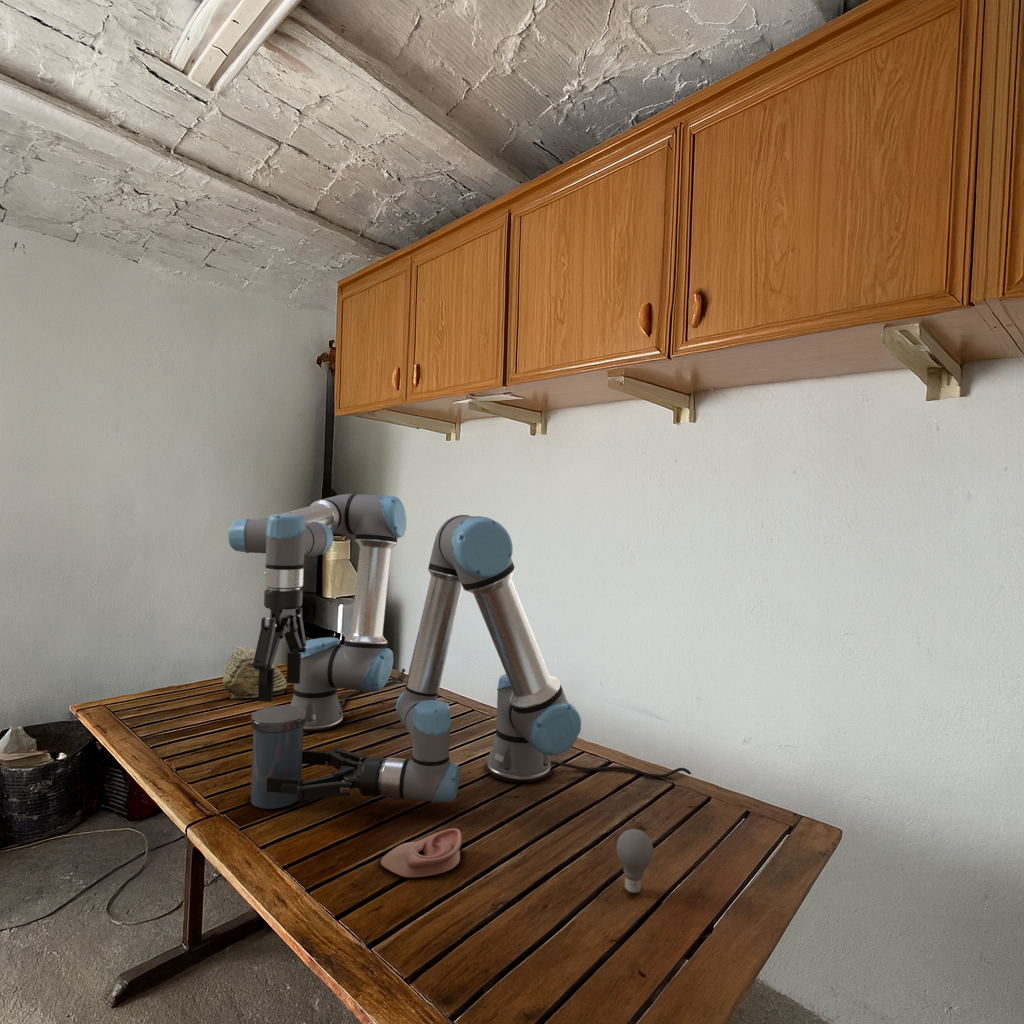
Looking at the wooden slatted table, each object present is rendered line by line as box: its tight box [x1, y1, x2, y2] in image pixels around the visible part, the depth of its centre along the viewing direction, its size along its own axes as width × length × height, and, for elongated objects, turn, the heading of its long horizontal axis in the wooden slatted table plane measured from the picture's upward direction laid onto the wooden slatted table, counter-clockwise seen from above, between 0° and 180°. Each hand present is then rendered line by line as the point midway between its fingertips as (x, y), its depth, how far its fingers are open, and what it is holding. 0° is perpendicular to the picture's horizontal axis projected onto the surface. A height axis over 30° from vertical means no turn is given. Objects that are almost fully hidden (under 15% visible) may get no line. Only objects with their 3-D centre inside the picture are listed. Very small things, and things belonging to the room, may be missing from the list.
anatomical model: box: [380, 827, 462, 879], centre depth 112 cm, size 13×4×12 cm
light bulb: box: [615, 828, 654, 894], centre depth 106 cm, size 6×6×10 cm
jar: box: [250, 725, 304, 810], centre depth 133 cm, size 10×10×17 cm
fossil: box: [222, 646, 288, 699], centre depth 198 cm, size 9×18×15 cm, turn 132°
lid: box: [250, 705, 306, 732], centre depth 132 cm, size 11×11×2 cm
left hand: (280, 691), depth 132 cm, fingers open, 12 cm apart
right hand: (282, 769), depth 132 cm, fingers open, 13 cm apart
